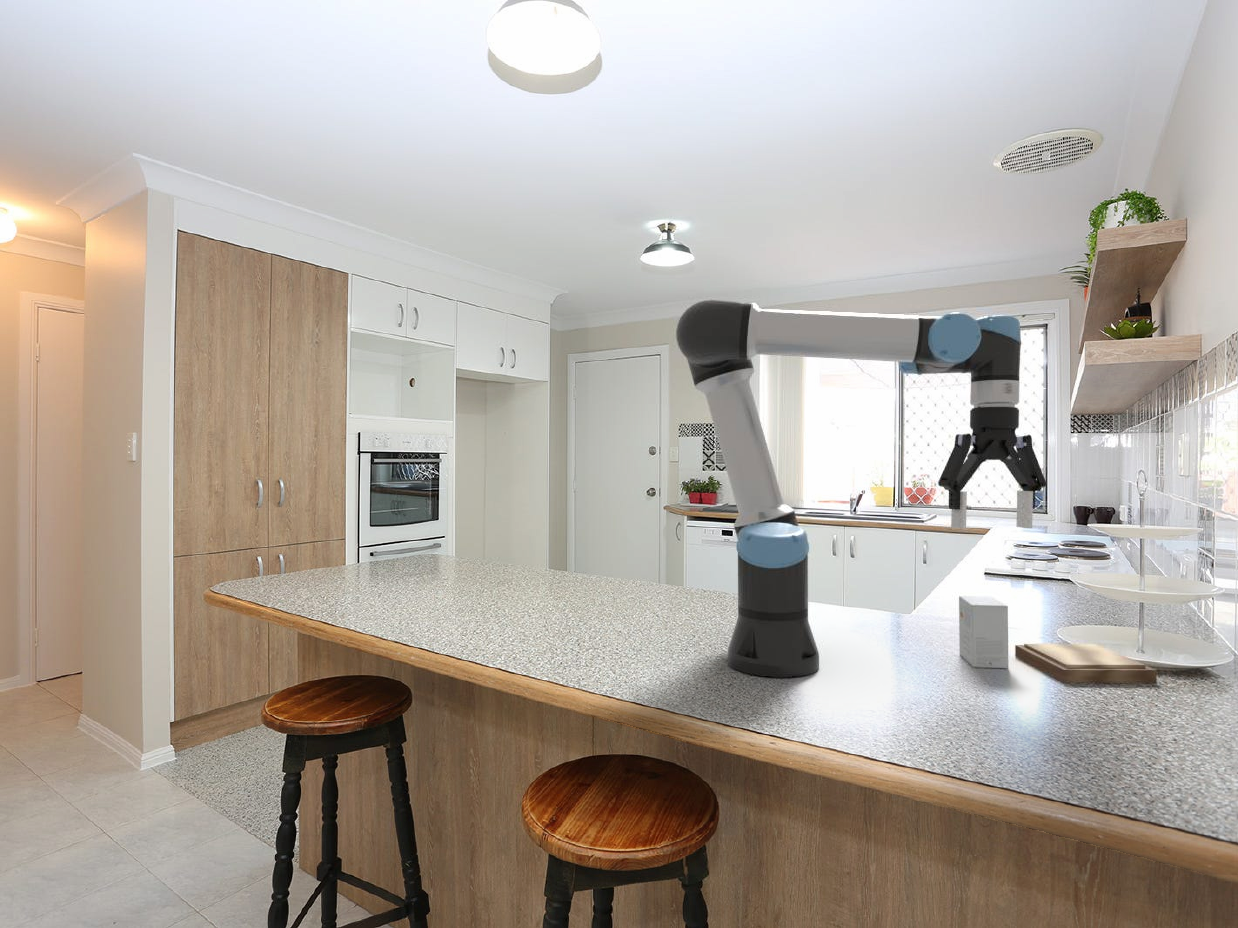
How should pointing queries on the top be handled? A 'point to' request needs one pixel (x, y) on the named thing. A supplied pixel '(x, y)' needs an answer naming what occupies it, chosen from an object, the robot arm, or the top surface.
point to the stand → (1085, 663)
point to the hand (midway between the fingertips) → (991, 528)
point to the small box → (983, 631)
